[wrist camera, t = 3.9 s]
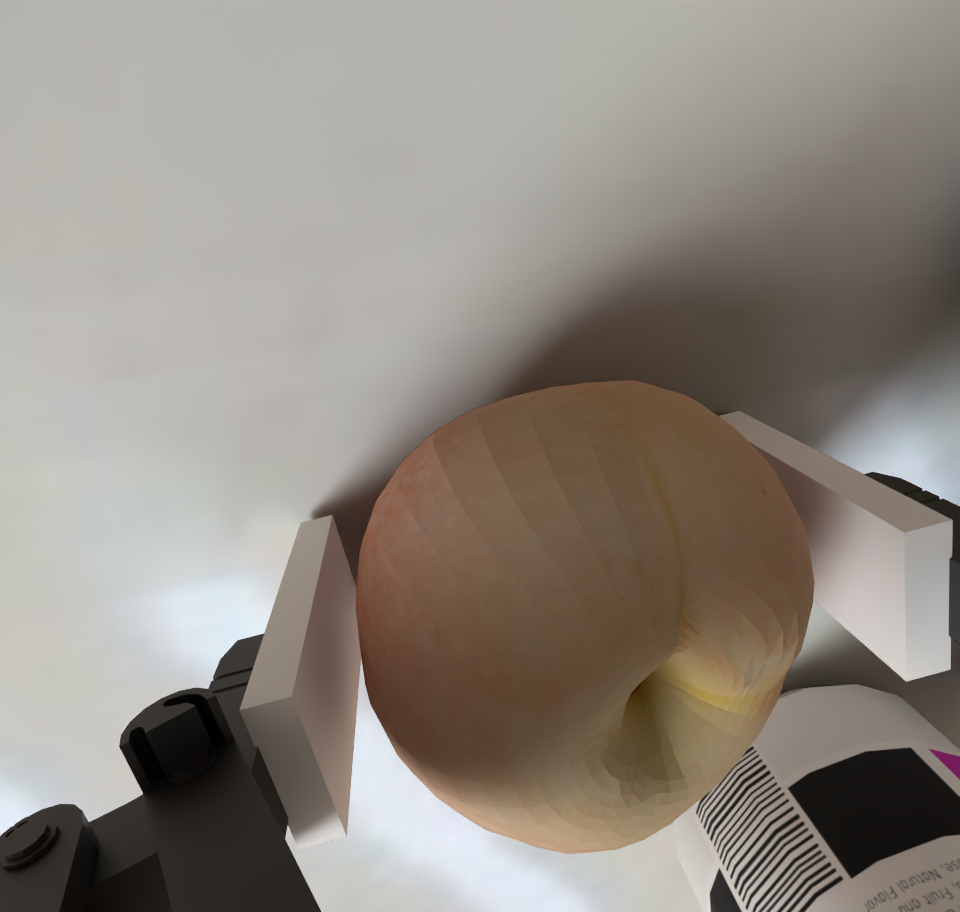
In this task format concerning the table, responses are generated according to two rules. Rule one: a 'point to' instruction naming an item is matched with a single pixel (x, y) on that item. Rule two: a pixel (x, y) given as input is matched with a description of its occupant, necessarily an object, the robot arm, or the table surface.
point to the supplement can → (831, 812)
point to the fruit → (580, 610)
